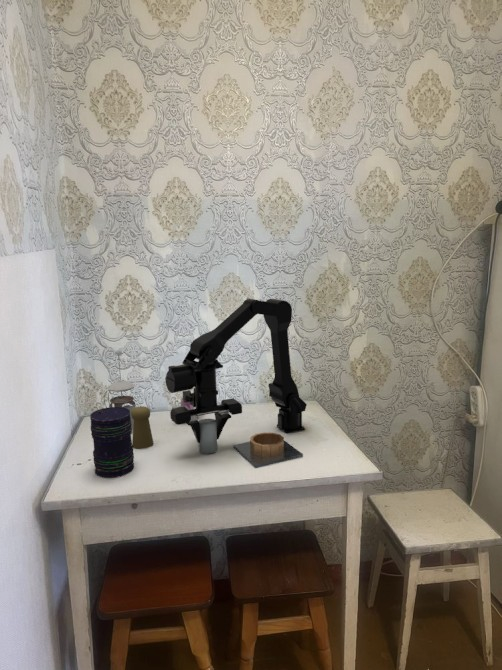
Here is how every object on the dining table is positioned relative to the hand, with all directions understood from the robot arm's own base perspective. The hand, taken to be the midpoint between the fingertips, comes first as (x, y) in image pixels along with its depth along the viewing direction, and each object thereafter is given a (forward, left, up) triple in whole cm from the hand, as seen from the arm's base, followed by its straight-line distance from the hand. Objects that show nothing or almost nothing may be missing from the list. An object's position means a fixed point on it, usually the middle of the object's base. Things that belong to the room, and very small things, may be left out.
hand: (207, 440), depth 137 cm
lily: (-3, -25, -3) cm, 26 cm away
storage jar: (+25, -1, -3) cm, 25 cm away
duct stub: (0, 0, -3) cm, 3 cm away
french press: (+18, -28, -3) cm, 33 cm away
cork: (+15, -13, -3) cm, 20 cm away
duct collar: (-14, +8, -3) cm, 16 cm away
